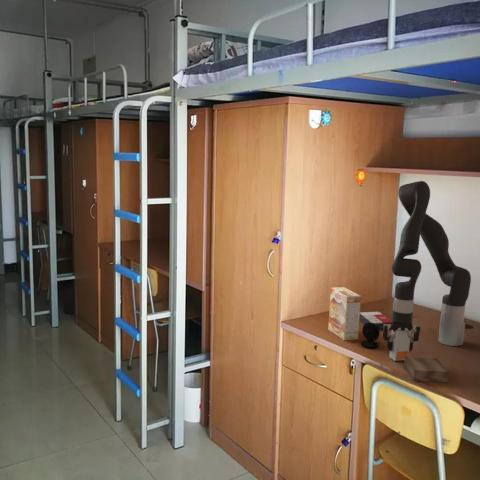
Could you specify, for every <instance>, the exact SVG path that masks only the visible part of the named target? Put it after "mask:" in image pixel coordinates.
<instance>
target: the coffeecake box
mask: <svg viewBox="0 0 480 480" xmlns="http://www.w3.org/2000/svg"><path fill="white" fill-rule="evenodd" d="M329 299H330V300H329V312H328V313H329V314H328V315H329V316H328V331H330V332H331V333H333V334H334V335H335V336H337V337H339V338H340V339H341V340H342V341H344V340H346V341H354V340H356V339H357V340H359V326H360V321H359V316H360V313H361V302H362V301H361V299H362V295H360V294H358V293H356V292H354V291H352V290H350V289H348V288H347V287H345V286H342V287H341V286H340V287H336V286H335V287H331V288H330V298H329Z"/></svg>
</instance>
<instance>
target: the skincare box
mask: <svg viewBox="0 0 480 480" xmlns="http://www.w3.org/2000/svg"><path fill="white" fill-rule="evenodd" d="M391 331H392V334H394V331H393V330H392V329H391ZM395 331H396V330H395ZM409 333H410V335H411V336H412V330H411V331H409ZM409 346H410V338H408V336H407V332H405V330H400V331H396V337H395V338H394V339H393V340H392V351H389V355H388V356H389V358H390V359H392V360H393V361H394V362H397V361H398V362H400V361H405V357H407V358H409V354H410V352H409Z"/></svg>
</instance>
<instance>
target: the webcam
mask: <svg viewBox="0 0 480 480" xmlns="http://www.w3.org/2000/svg"><path fill="white" fill-rule="evenodd" d="M361 329H362V331H361V333H362V336H363V337H364V338H365V340H362V341H361V342H360V346H361V347H363V348H365V349H371V350H375V349H378V348H379V347H380V344H379V342H377V341H376V340H378V339H379V337H380V329H379V328H378V327H377V325H376V324H374V323H371V322H369V323H366V324H363V325H362V328H361Z"/></svg>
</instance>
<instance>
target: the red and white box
mask: <svg viewBox="0 0 480 480" xmlns="http://www.w3.org/2000/svg"><path fill="white" fill-rule="evenodd" d="M360 322H361V323H362V324H363V325H365V324H366V323H369V322H371V323H374V324H376V325H377V327H378V328H379V330H383V324H391V322H392V319H390V318H388V317H387V316H386V315H385V314H383V313H381V312H380V311H367V312H366V311H364V312H363V311H362V312H361V311H360V316H359V323H360ZM389 330H392V328H391V327H390V328H389Z"/></svg>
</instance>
